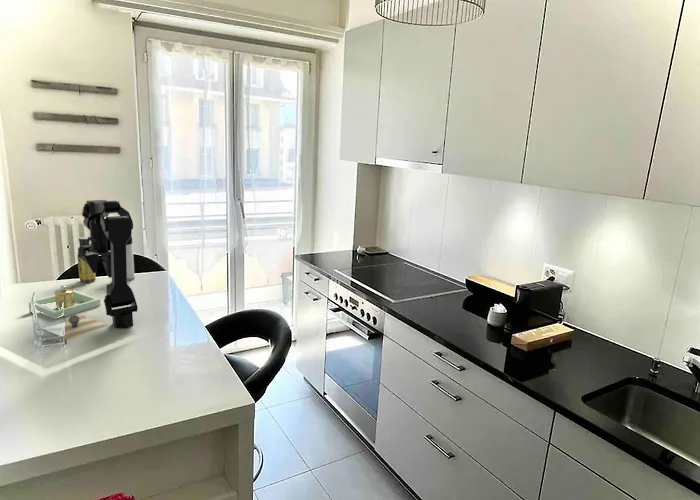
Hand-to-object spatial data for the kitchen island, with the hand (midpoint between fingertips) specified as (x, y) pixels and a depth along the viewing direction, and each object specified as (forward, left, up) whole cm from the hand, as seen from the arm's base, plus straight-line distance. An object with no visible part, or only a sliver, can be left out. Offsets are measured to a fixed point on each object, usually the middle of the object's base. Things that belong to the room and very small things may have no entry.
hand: (102, 275), depth 169 cm
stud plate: (-11, +18, -13) cm, 25 cm away
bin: (+8, +10, -13) cm, 18 cm away
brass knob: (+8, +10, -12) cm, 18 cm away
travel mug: (+23, -26, -13) cm, 37 cm away
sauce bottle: (+33, -14, -13) cm, 38 cm away
